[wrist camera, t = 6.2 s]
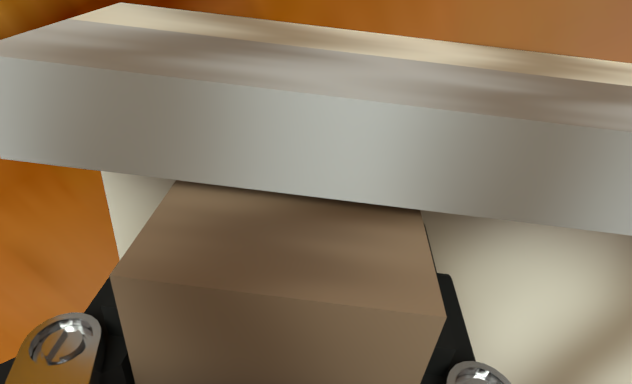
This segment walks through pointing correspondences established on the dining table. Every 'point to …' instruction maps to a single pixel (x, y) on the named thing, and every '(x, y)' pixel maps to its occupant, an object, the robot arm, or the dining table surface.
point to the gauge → (277, 290)
